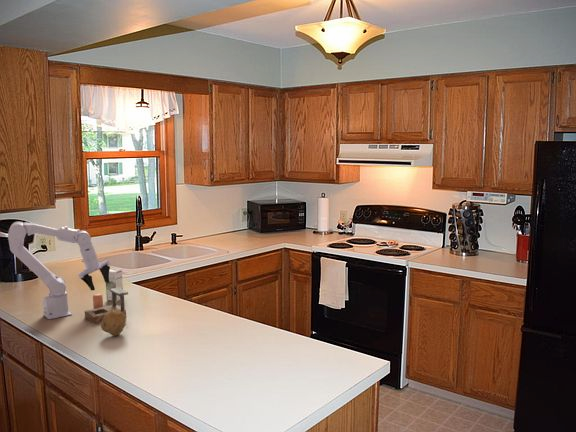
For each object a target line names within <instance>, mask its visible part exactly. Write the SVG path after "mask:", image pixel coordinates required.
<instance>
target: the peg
mask: <svg viewBox="0 0 576 432" xmlns="http://www.w3.org/2000/svg"><path fill="white" fill-rule="evenodd" d="M103 295H104V294H103V293H95V294H93V295H92V303H93V304H92V306H93V308H92V309H95V308H100V307H104V301H103V298H104V297H103Z"/></svg>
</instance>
